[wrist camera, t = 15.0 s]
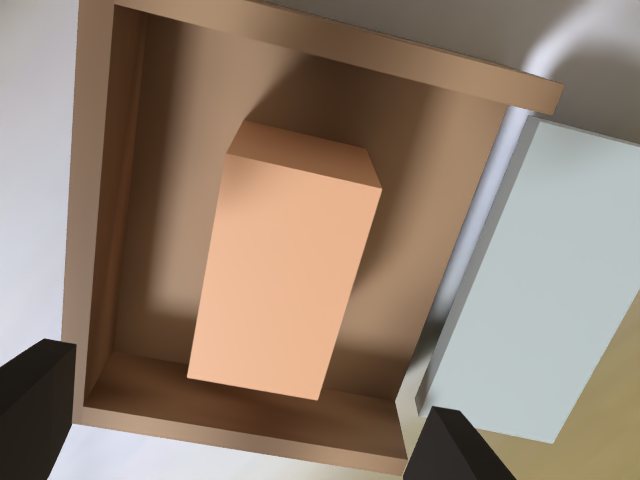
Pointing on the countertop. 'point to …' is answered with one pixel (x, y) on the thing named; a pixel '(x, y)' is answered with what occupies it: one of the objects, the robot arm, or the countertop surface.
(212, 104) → the wooden tray
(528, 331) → the pale grey board
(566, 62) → the countertop surface
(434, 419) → the robot arm
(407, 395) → the countertop surface
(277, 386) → the block
